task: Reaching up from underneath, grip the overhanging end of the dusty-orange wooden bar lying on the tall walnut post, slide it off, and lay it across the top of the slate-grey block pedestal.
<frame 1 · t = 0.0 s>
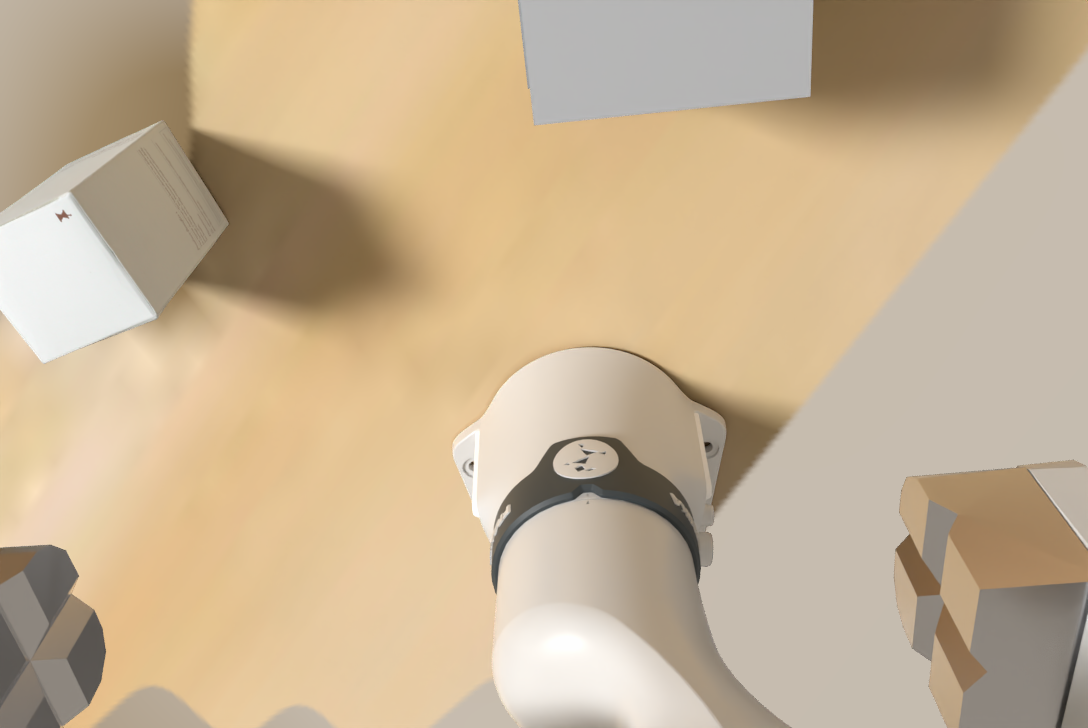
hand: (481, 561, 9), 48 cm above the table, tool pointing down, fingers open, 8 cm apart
supplement box: (150, 195, 58), on the table
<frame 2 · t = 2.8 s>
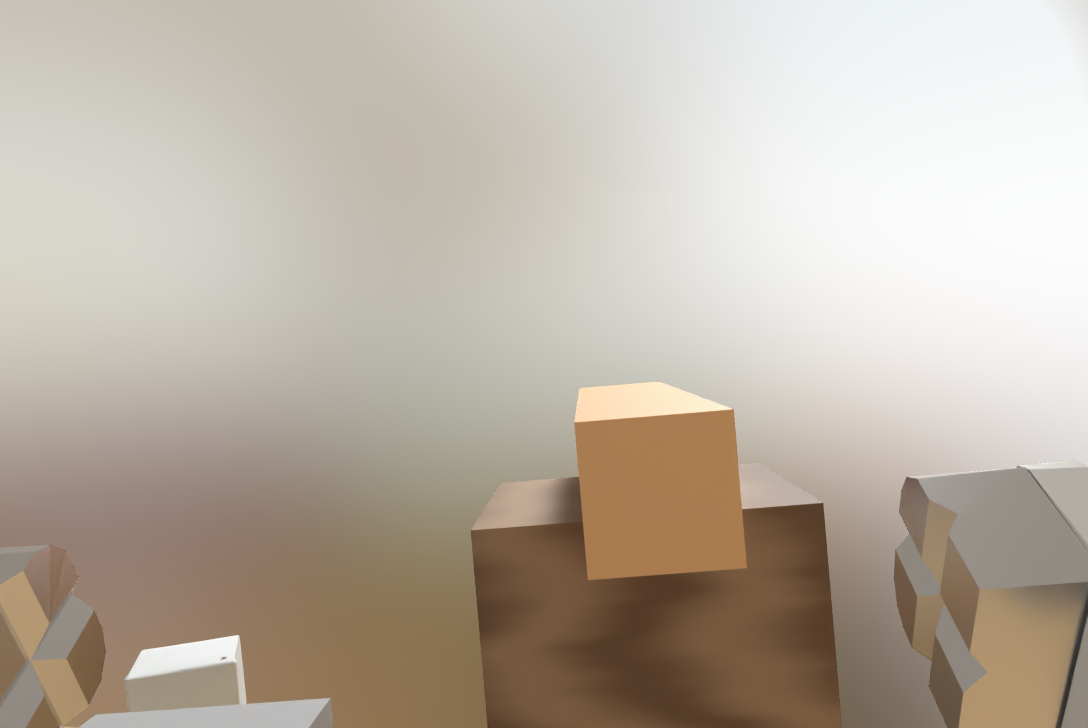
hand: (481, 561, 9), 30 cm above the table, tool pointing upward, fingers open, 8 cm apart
orange bar: (639, 500, 36), point 26 cm above the table, touching walnut post
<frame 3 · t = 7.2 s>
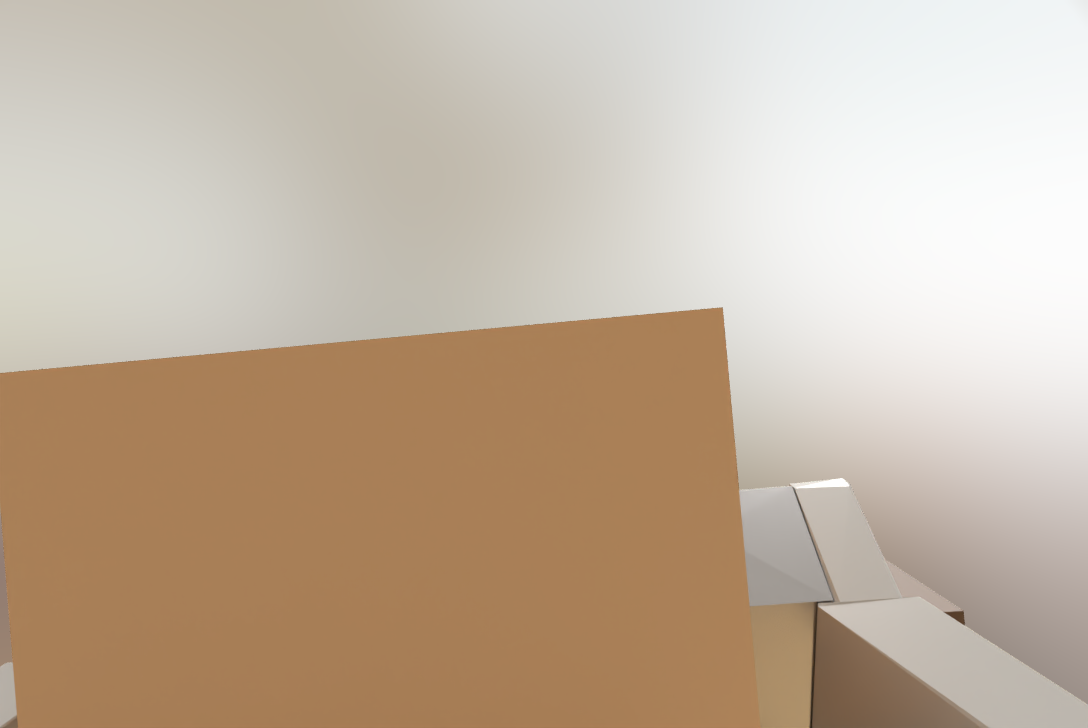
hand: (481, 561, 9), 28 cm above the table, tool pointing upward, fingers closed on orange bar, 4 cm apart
orange bar: (546, 586, 17), point 26 cm above the table, touching gripper, walnut post
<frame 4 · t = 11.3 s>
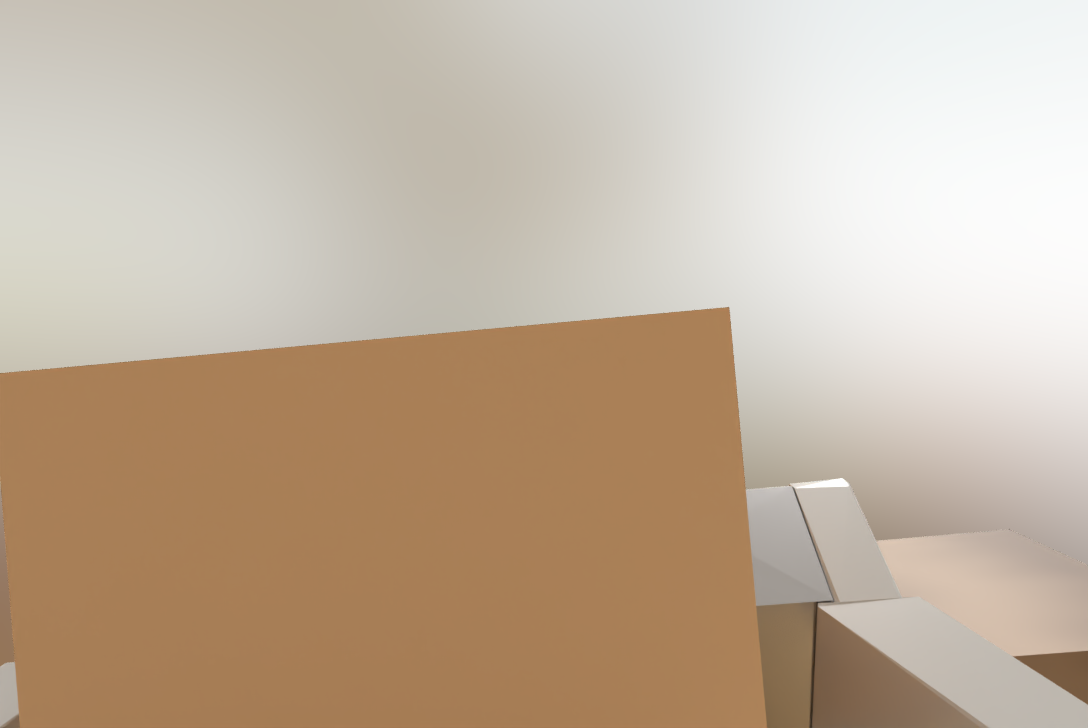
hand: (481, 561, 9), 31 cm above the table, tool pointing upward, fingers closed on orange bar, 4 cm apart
orange bar: (547, 586, 17), point 29 cm above the table, touching gripper
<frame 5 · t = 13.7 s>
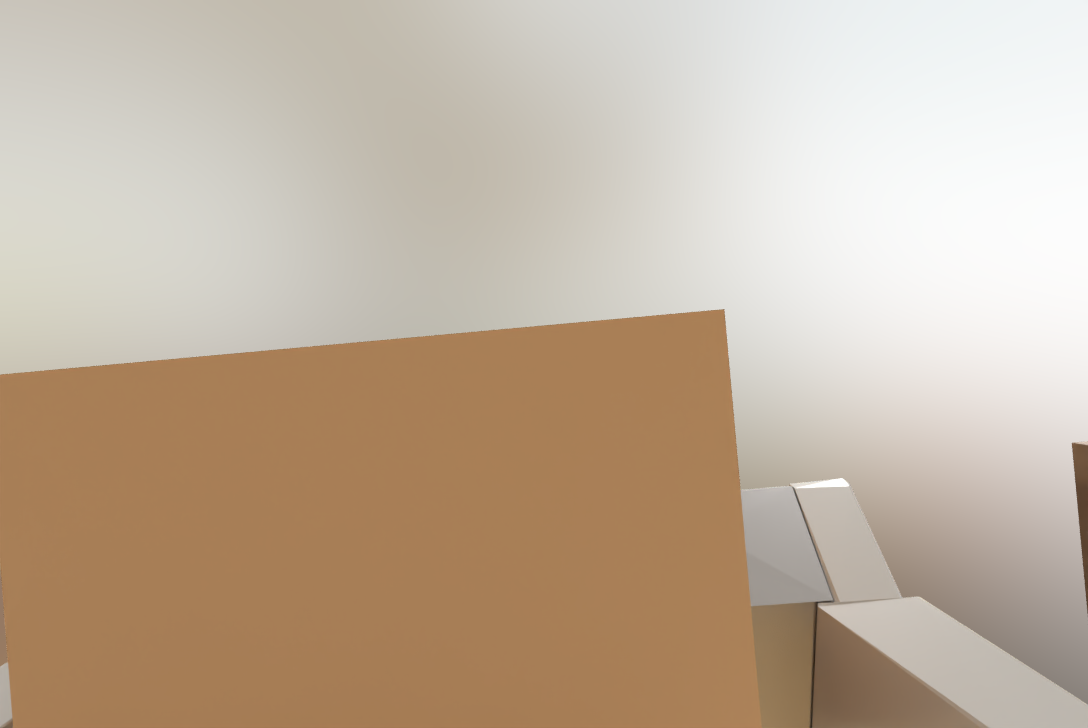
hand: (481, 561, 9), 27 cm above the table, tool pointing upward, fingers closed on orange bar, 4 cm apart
orange bar: (545, 587, 17), point 25 cm above the table, touching gripper
when the fingers open (20 cm above the table, at t = 15.6 s): orange bar stays where it is, resting on slate pedestal.
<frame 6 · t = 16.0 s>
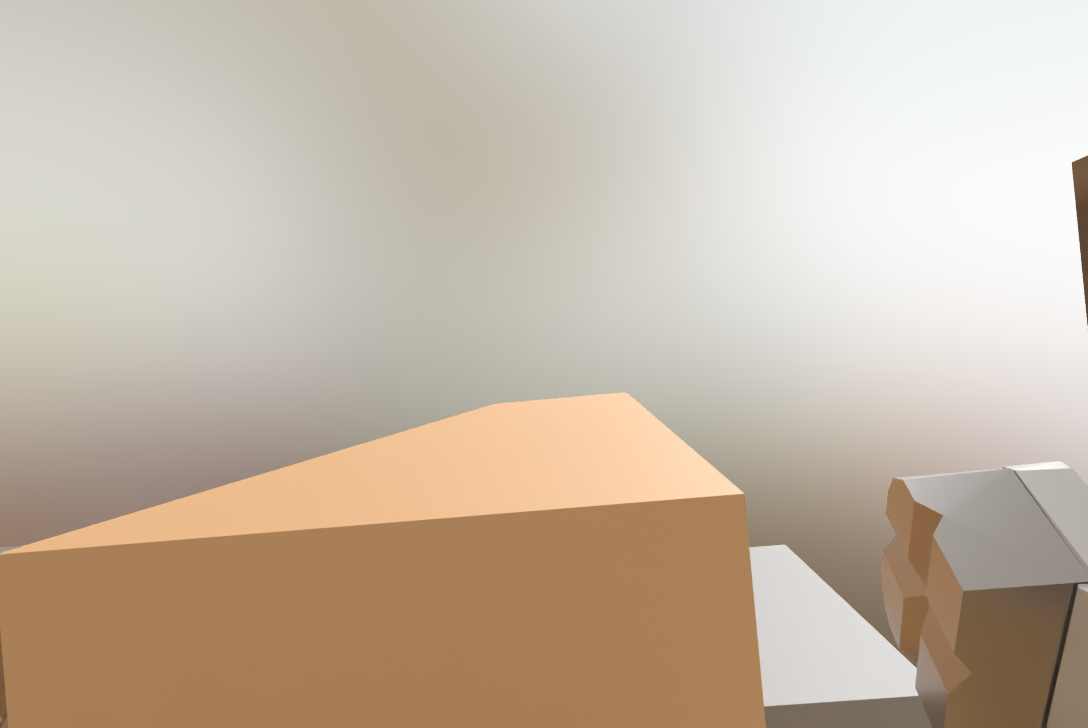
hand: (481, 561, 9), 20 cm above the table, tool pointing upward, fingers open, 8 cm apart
orange bar: (551, 641, 17), point 17 cm above the table, touching slate pedestal
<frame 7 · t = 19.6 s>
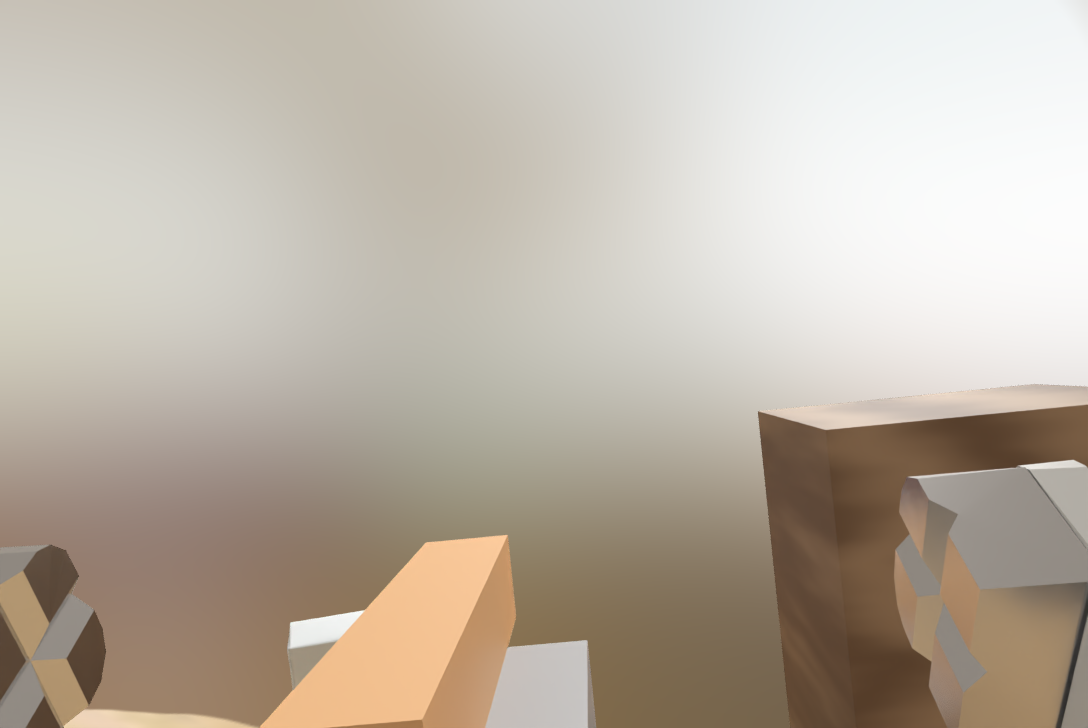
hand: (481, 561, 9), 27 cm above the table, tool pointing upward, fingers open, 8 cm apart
orange bar: (435, 710, 34), point 17 cm above the table, touching slate pedestal
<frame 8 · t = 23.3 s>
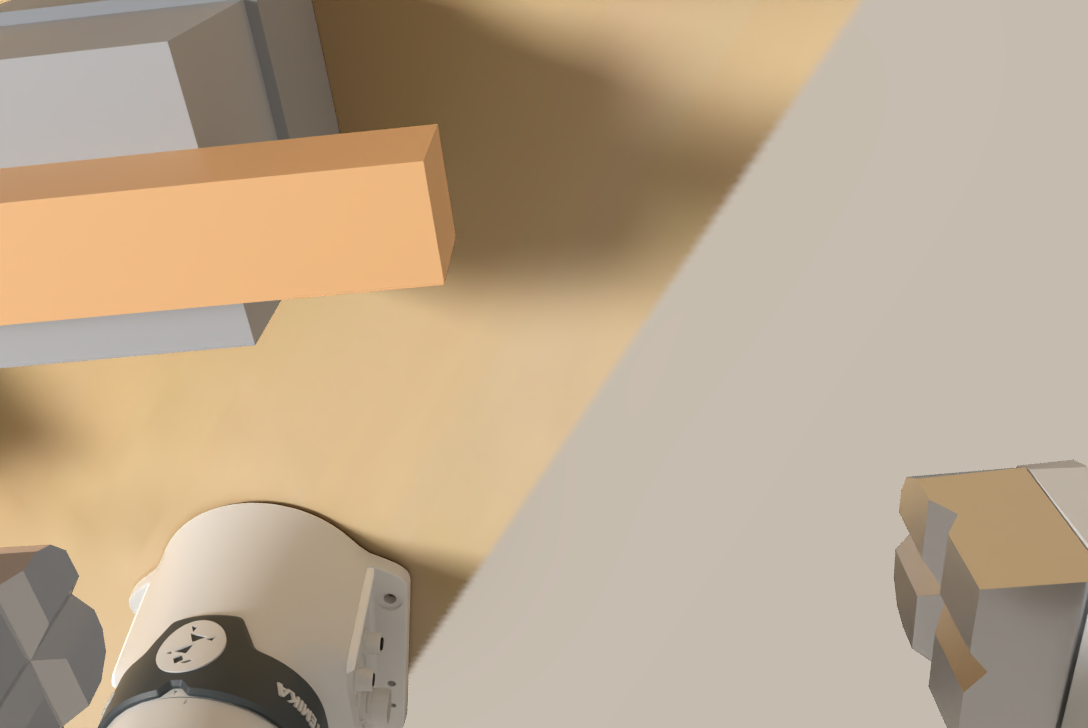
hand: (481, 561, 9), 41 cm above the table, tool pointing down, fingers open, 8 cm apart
slate pedestal: (213, 99, 48), on the table
orange bar: (105, 215, 33), point 17 cm above the table, touching slate pedestal
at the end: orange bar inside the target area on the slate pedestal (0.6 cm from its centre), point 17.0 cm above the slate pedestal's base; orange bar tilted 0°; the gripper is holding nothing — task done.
